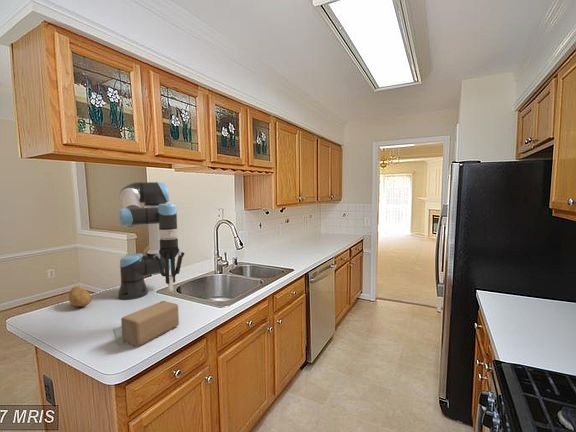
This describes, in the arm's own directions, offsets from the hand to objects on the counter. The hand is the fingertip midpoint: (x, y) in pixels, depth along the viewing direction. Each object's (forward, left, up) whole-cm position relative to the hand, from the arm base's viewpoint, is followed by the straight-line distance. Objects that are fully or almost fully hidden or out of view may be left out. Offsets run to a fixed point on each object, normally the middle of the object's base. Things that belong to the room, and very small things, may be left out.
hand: (170, 290), depth 128 cm
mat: (0, -12, -15) cm, 19 cm away
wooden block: (+2, 0, -10) cm, 10 cm away
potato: (-49, -33, -15) cm, 61 cm away
